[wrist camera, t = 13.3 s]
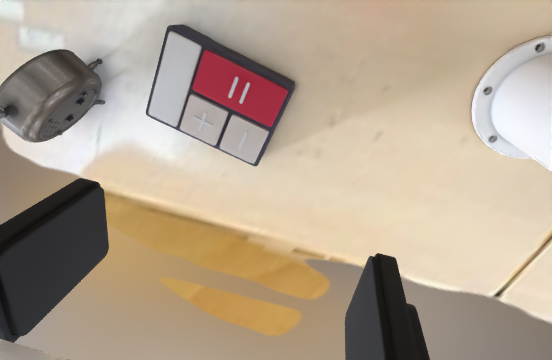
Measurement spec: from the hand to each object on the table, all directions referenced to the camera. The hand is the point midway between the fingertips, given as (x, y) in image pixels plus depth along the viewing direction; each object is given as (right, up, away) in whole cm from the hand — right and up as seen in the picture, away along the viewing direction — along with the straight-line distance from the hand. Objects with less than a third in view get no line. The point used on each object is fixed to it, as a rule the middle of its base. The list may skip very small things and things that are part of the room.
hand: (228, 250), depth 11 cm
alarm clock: (-23, +15, +32) cm, 42 cm away
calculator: (-5, +13, +29) cm, 32 cm away
